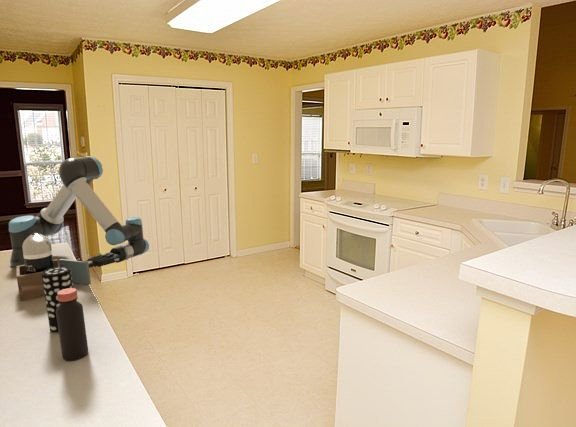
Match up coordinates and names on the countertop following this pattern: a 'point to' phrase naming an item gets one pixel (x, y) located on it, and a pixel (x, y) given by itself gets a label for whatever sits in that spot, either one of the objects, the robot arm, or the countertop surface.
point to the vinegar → (71, 325)
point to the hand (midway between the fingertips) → (78, 268)
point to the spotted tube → (55, 291)
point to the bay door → (77, 270)
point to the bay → (30, 283)
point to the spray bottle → (37, 253)
